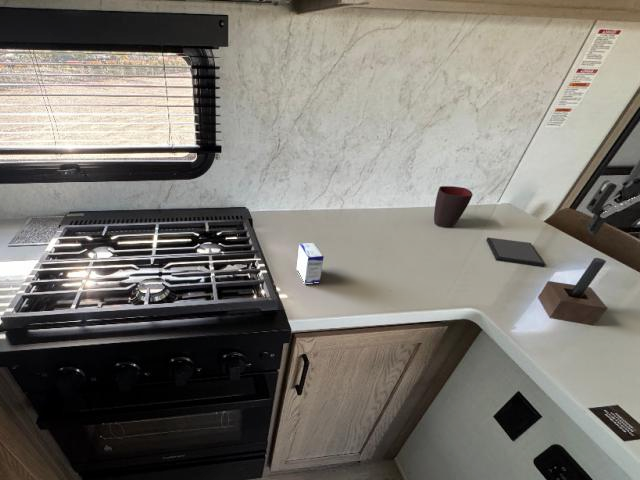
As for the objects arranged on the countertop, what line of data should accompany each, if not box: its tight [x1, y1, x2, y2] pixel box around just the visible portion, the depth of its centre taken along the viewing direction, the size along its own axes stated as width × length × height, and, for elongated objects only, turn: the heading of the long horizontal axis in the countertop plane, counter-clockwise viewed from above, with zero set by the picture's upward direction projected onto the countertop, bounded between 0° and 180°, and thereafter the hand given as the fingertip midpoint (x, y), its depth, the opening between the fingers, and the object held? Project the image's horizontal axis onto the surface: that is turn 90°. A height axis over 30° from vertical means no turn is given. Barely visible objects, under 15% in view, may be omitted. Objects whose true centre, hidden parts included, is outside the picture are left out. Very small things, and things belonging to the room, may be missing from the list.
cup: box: [433, 185, 474, 229], centre depth 121 cm, size 10×14×12 cm
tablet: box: [486, 237, 546, 268], centre depth 105 cm, size 12×14×1 cm
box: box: [296, 242, 325, 286], centre depth 93 cm, size 8×4×9 cm, turn 9°
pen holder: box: [537, 280, 608, 326], centre depth 81 cm, size 9×9×5 cm
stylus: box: [569, 257, 607, 298], centre depth 78 cm, size 2×2×14 cm
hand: (616, 235), depth 71 cm, fingers open, 8 cm apart
